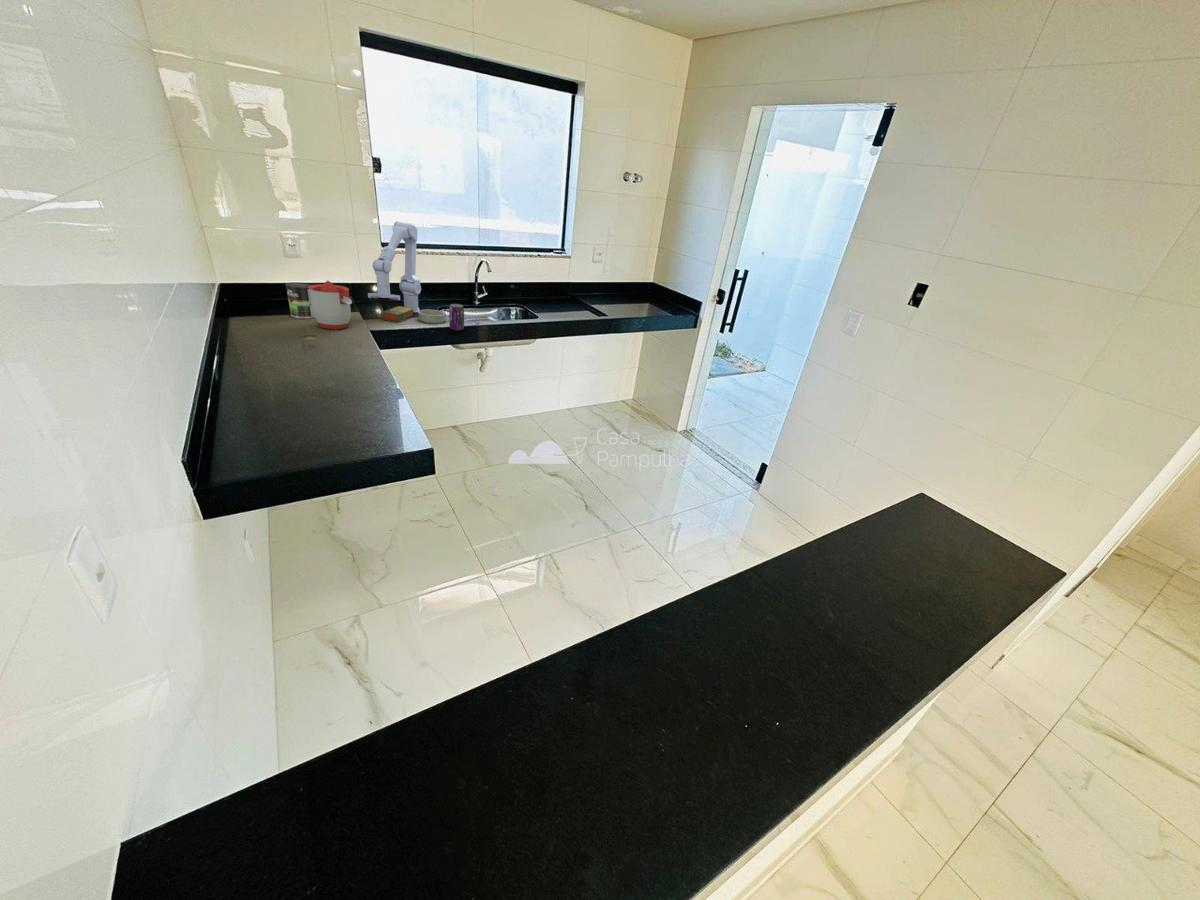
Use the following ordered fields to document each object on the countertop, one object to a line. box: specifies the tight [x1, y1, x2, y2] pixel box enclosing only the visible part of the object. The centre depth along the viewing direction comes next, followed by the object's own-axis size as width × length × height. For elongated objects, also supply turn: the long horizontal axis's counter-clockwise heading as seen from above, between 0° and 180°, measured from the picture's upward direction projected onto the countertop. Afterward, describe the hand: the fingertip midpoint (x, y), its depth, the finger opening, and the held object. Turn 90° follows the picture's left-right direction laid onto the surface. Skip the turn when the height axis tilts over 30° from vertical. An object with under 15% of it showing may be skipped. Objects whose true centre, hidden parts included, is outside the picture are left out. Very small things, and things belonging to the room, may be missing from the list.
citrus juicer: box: [308, 280, 353, 331], centre depth 205 cm, size 16×17×20 cm
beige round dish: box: [417, 309, 446, 324], centre depth 241 cm, size 13×13×4 cm
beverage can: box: [448, 303, 465, 332], centre depth 231 cm, size 7×7×12 cm
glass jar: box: [285, 282, 315, 319], centre depth 214 cm, size 10×10×14 cm
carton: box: [381, 305, 414, 323], centre depth 236 cm, size 8×16×4 cm, turn 173°
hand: (385, 313), depth 234 cm, fingers closed
